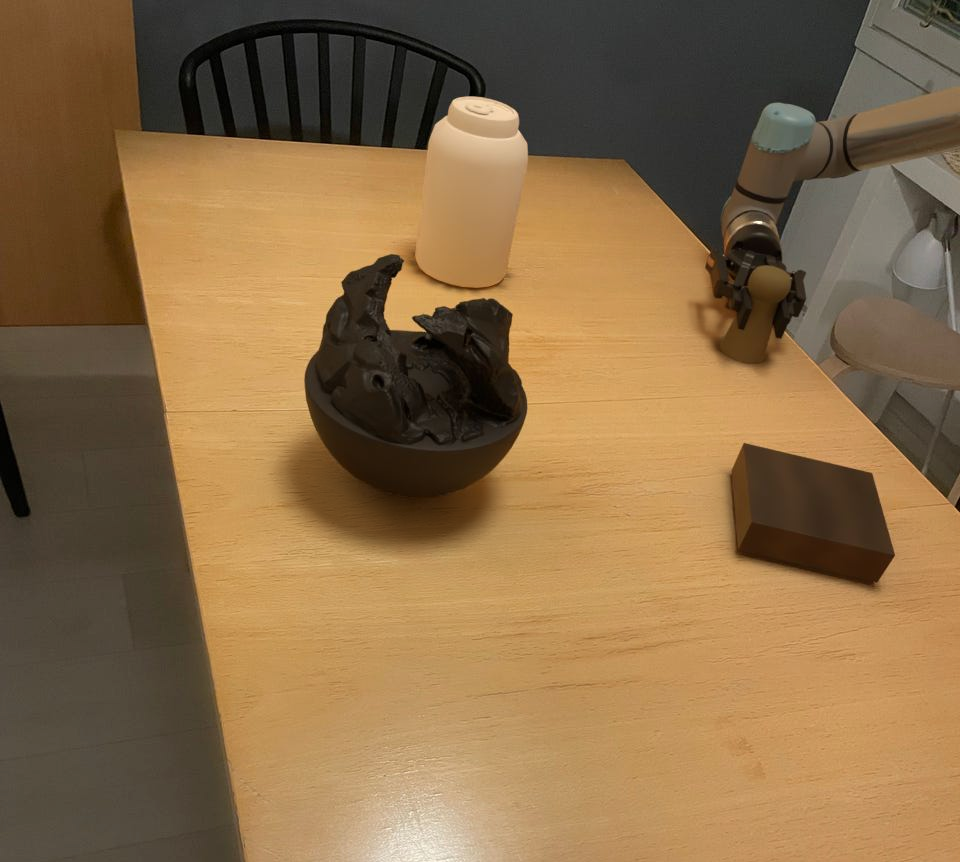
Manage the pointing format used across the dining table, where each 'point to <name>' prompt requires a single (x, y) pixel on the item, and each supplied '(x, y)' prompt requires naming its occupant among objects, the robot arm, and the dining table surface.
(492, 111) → the can
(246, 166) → the dining table surface
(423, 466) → the bowl of black rocks
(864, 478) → the walnut stand
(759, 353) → the wooden peg doll
